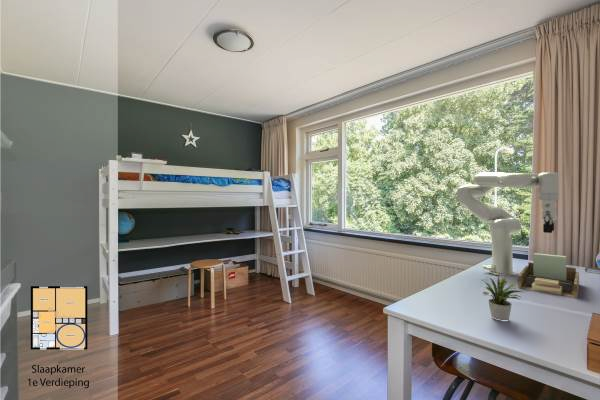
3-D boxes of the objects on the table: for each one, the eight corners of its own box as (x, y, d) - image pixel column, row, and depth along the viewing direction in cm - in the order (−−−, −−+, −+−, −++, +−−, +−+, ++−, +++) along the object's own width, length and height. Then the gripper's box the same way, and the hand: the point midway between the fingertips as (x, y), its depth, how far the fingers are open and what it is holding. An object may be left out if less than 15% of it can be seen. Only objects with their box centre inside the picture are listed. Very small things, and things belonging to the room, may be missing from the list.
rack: (577, 300, 118) (577, 279, 118) (518, 290, 132) (517, 271, 132) (579, 286, 135) (578, 268, 135) (526, 278, 150) (526, 261, 149)
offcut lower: (561, 295, 122) (561, 289, 122) (531, 290, 129) (531, 284, 129) (562, 291, 126) (562, 286, 126) (533, 287, 133) (533, 281, 133)
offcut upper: (558, 288, 123) (558, 283, 123) (534, 284, 129) (534, 279, 129) (559, 286, 126) (558, 280, 126) (536, 282, 132) (536, 277, 132)
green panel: (566, 286, 133) (565, 257, 133) (533, 281, 142) (533, 254, 141) (566, 284, 135) (566, 256, 135) (534, 279, 144) (534, 253, 144)
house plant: (491, 328, 96) (490, 281, 95) (467, 312, 109) (466, 271, 109) (532, 327, 96) (532, 280, 95) (503, 311, 110) (502, 270, 109)
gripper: (557, 197, 129) (557, 234, 129) (560, 196, 141) (560, 230, 141) (536, 197, 135) (536, 232, 135) (540, 197, 146) (541, 229, 147)
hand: (548, 231), depth 138 cm, fingers open, 9 cm apart
